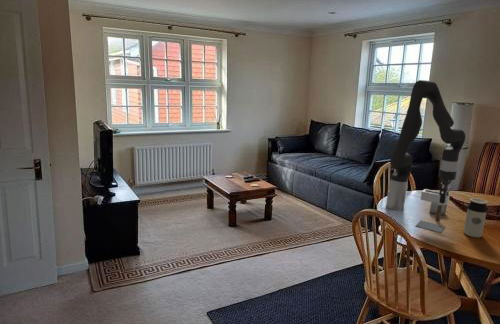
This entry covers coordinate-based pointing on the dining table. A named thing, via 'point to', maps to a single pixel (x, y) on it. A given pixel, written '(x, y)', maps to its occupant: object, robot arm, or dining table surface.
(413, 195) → the dining table surface
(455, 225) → the dining table surface
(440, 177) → the robot arm
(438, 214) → the post
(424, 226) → the mat
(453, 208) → the dining table surface
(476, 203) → the travel mug
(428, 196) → the white slotted block
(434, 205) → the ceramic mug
